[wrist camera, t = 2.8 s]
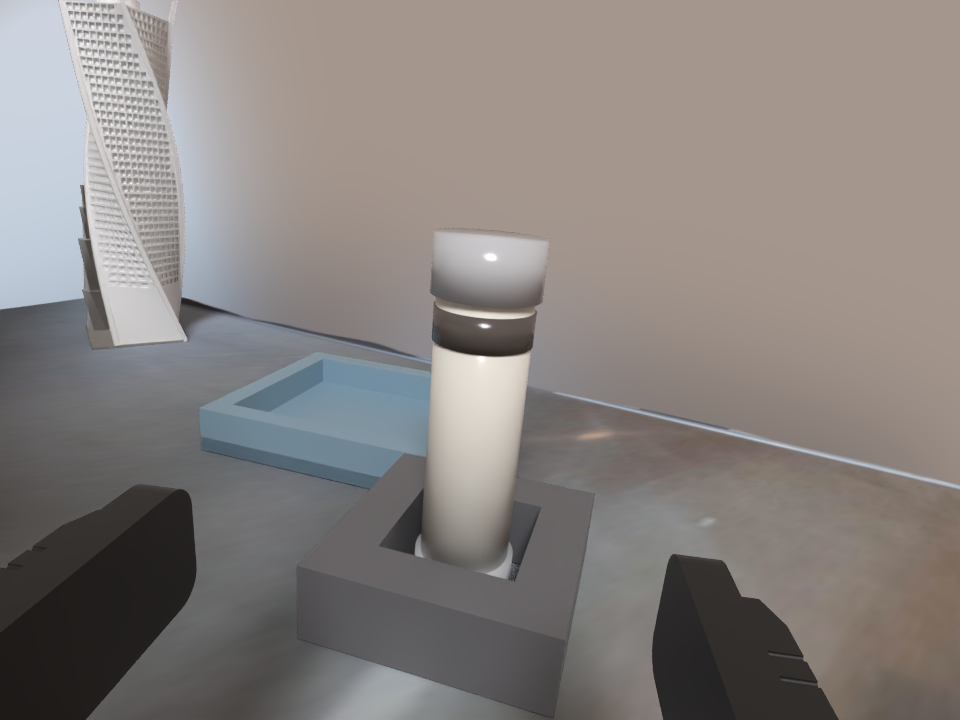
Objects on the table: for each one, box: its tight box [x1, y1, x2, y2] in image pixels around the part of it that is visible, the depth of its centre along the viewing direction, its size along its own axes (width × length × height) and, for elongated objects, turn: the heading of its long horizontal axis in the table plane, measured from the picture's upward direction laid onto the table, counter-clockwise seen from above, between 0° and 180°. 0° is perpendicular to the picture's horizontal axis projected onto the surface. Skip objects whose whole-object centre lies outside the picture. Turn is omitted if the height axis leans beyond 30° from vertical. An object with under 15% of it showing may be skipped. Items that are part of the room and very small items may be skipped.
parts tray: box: [199, 352, 431, 489], centre depth 36 cm, size 14×12×2 cm
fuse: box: [415, 228, 549, 580], centre depth 21 cm, size 4×4×14 cm
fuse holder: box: [297, 453, 595, 718], centre depth 23 cm, size 9×9×3 cm
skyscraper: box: [58, 0, 188, 350], centre depth 47 cm, size 8×8×28 cm
